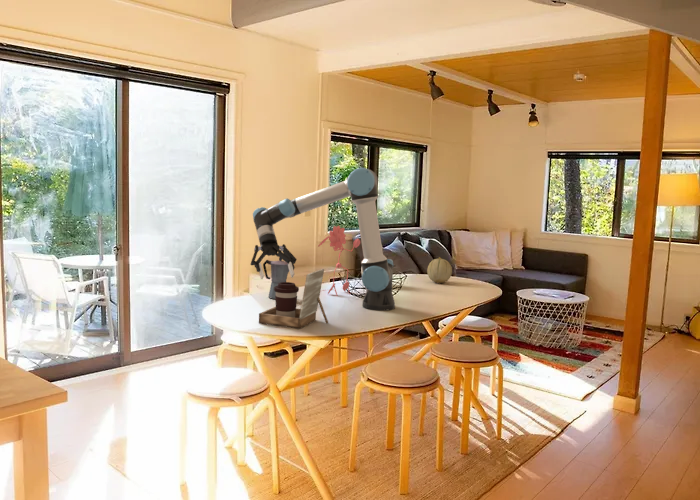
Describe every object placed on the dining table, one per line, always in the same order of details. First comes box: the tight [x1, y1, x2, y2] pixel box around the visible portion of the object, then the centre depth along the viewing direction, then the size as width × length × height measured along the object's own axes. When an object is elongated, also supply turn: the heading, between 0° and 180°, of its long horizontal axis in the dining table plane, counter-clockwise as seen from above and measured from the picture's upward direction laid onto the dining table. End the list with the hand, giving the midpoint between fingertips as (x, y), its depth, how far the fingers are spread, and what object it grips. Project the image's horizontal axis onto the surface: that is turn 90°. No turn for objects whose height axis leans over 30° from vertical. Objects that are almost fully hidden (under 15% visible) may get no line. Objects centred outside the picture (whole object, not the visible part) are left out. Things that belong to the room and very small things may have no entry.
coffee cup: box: [274, 281, 300, 318], centre depth 238 cm, size 10×10×15 cm
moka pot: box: [262, 257, 290, 300], centre depth 283 cm, size 10×15×20 cm, turn 78°
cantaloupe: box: [426, 256, 453, 284], centre depth 345 cm, size 15×15×15 cm
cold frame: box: [258, 268, 329, 330], centre depth 236 cm, size 24×16×22 cm, turn 71°
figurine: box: [317, 225, 361, 297], centre depth 301 cm, size 15×26×35 cm, turn 134°
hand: (277, 276), depth 247 cm, fingers open, 13 cm apart
